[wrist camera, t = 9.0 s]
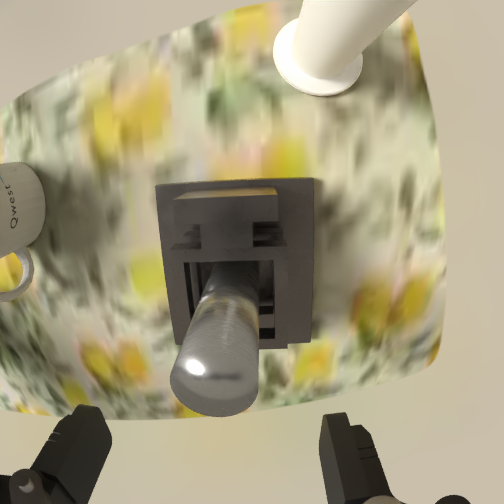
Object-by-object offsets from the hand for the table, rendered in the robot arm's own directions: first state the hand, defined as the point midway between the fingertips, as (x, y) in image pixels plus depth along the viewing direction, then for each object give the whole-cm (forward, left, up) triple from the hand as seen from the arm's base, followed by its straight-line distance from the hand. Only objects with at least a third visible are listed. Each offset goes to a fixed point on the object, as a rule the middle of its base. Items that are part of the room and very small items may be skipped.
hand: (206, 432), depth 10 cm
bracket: (0, 0, -18) cm, 18 cm away
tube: (0, 0, -17) cm, 17 cm away
